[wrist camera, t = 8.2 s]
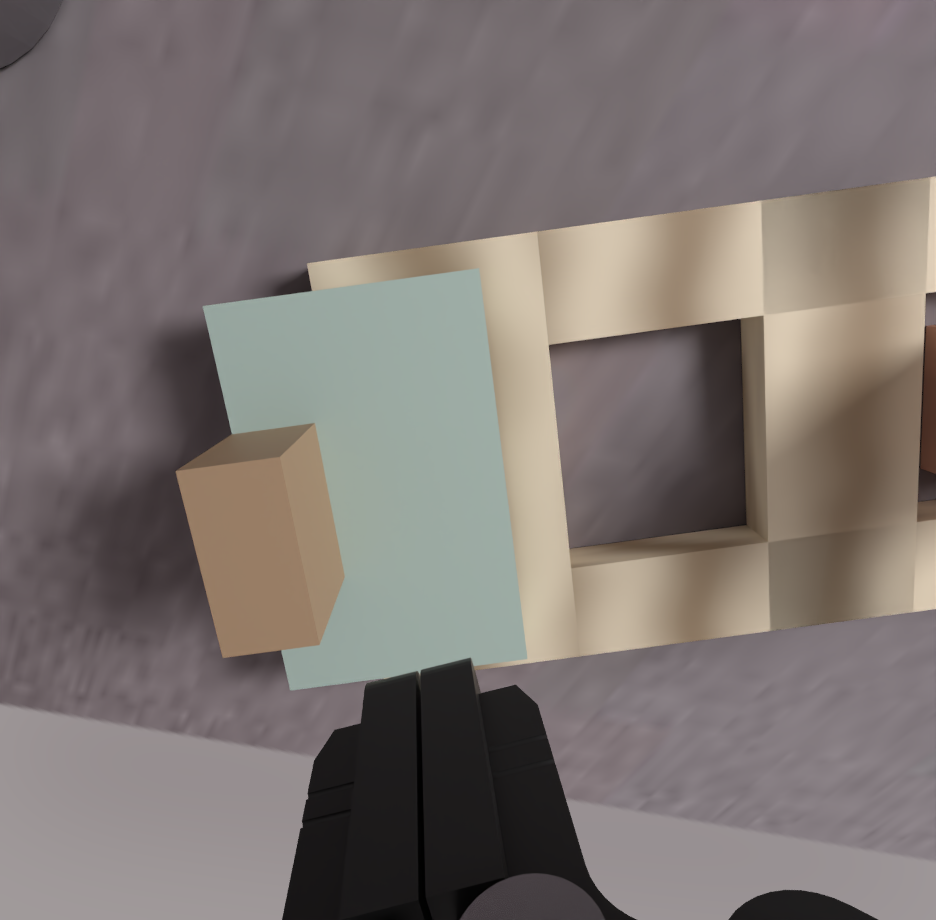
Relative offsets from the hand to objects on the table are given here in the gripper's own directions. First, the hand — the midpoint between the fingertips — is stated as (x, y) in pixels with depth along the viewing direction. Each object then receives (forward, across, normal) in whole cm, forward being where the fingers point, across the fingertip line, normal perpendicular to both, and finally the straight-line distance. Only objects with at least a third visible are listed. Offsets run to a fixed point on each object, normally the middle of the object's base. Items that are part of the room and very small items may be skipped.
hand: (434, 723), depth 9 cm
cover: (+16, +2, +1) cm, 16 cm away
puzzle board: (+18, -13, +3) cm, 22 cm away
